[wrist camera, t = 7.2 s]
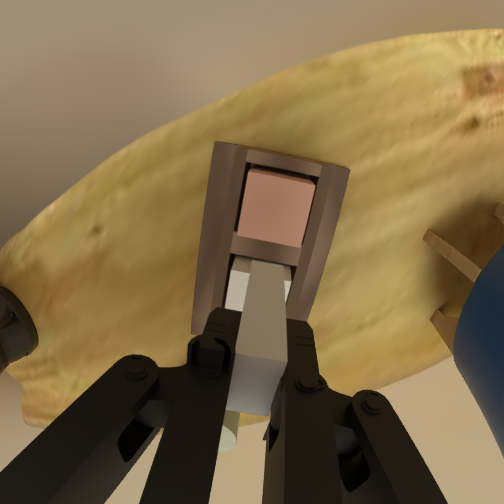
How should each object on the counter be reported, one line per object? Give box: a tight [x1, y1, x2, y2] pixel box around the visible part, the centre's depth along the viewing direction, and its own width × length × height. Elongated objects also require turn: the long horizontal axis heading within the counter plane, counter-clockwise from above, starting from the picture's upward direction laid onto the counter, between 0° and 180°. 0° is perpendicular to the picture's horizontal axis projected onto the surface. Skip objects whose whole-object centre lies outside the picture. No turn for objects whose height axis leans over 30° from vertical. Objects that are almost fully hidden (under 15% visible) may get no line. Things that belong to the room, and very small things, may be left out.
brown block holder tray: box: [191, 142, 350, 335], centre depth 30 cm, size 14×24×7 cm, turn 170°
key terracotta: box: [237, 165, 315, 248], centre depth 25 cm, size 5×5×6 cm
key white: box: [225, 254, 291, 311], centre depth 28 cm, size 5×5×6 cm
